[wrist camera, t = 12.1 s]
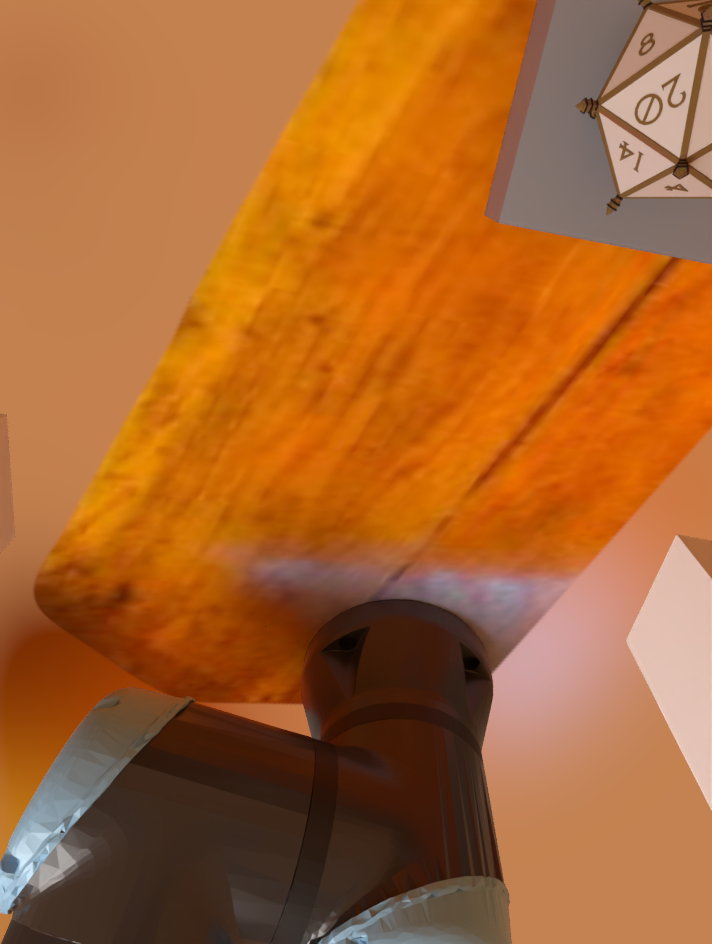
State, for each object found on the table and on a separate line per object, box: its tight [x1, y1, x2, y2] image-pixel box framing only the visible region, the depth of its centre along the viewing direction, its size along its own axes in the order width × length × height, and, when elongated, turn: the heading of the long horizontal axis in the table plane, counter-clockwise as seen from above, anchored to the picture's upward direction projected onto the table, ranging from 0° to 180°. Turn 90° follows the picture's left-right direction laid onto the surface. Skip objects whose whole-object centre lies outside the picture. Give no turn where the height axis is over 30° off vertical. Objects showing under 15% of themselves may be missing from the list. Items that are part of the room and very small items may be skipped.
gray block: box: [485, 0, 712, 264], centre depth 32 cm, size 12×12×5 cm
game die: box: [575, 0, 712, 216], centre depth 26 cm, size 9×8×10 cm
